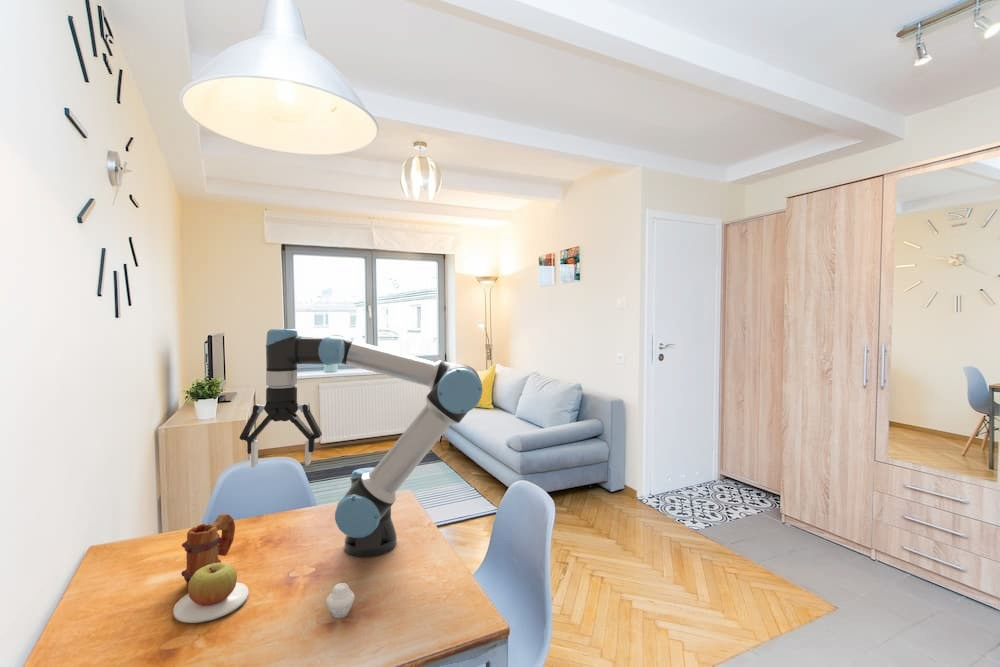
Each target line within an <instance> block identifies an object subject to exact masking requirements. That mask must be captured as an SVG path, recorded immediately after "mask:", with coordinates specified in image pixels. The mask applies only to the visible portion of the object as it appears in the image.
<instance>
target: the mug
mask: <svg viewBox="0 0 1000 667" xmlns="http://www.w3.org/2000/svg"><path fill="white" fill-rule="evenodd" d="M235 530H236V525H235V520H234V518H233V516H232V515H231V514H228V513H220V514H219V515H218V516H217V517H216V518H215V520H214V521H213V522H212V523H207V524H205V523H203V524H198V525H197V526H194V527H192V528H190V529H189V530H188V532H187V533H186V541H184V542H183V543H182V544H181V546H182V548H184V551H185V552H186V556H185V557H186V569H185V570H183V571H181V577H184V578H183V579H184V581H185V582H186V586H187V587H188V583H189V581H190V579H191V577H192V576H193V575H194V573H195V572H196V571H197V570H199V569H200V568H202V567H204V566H207V565H209V564H213V563H222V561H221V560H220V559H219V556H223V557H226V556H227V555H228V553H229V550H230V549H231V546H232V544H233V542H234V537H235V532H236V531H235ZM218 531H221V536H220V534H219V533H218Z"/></svg>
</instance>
